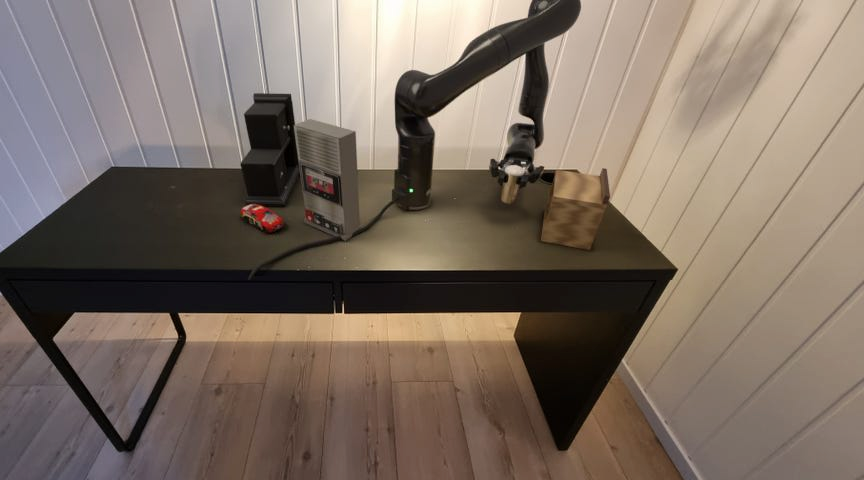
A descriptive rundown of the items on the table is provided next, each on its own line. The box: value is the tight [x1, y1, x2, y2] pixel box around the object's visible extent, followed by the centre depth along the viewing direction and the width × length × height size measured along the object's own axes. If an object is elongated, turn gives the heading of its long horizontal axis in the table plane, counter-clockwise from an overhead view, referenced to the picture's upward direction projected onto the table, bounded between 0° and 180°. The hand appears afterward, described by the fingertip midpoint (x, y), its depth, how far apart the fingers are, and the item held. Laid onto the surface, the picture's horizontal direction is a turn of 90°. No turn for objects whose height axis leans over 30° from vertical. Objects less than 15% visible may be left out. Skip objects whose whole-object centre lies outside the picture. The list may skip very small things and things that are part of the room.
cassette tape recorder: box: [294, 118, 362, 242], centre depth 95 cm, size 14×6×25 cm, turn 53°
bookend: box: [239, 92, 300, 207], centre depth 113 cm, size 23×11×24 cm, turn 178°
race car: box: [240, 204, 285, 234], centre depth 103 cm, size 13×5×4 cm, turn 49°
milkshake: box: [500, 164, 530, 204], centre depth 100 cm, size 4×5×10 cm
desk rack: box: [540, 167, 611, 251], centre depth 98 cm, size 11×15×14 cm
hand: (511, 183), depth 97 cm, fingers closed on milkshake, 4 cm apart
